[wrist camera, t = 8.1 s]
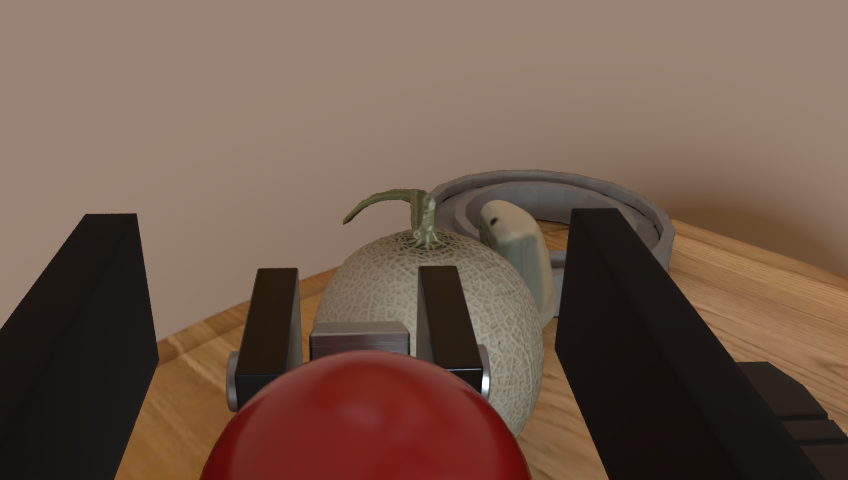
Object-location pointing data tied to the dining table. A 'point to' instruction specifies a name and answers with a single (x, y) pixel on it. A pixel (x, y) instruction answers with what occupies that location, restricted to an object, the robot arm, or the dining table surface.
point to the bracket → (282, 341)
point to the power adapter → (521, 251)
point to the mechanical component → (550, 207)
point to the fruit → (483, 288)
